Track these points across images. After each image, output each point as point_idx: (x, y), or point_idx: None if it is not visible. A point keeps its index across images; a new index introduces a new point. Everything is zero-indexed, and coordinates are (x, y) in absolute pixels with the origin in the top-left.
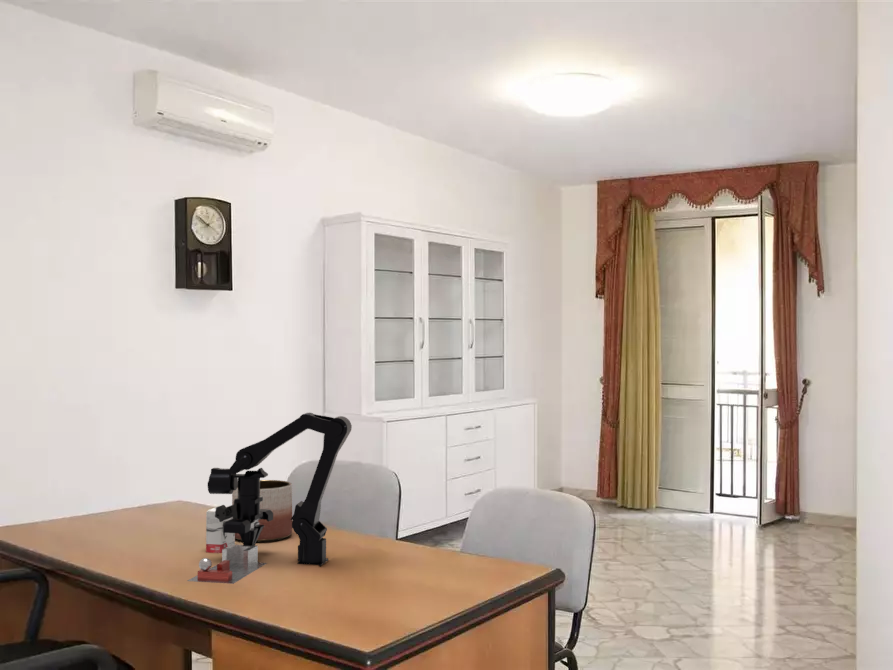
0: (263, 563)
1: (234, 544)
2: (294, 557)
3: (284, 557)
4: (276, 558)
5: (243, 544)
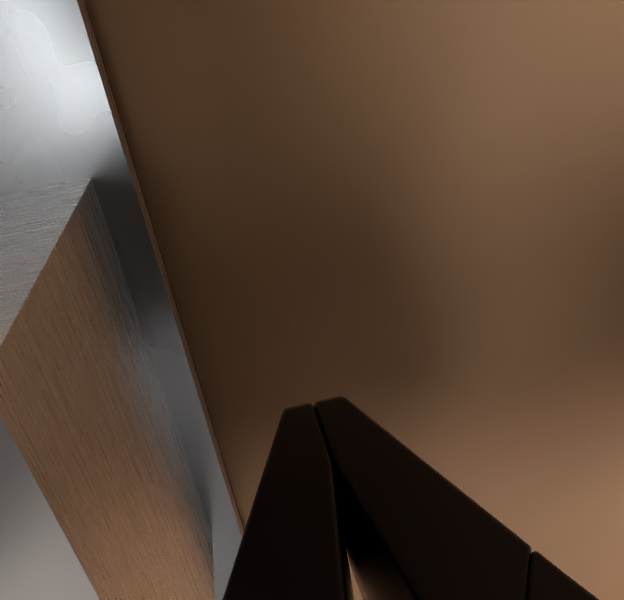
0: (218, 590)
1: (7, 446)
2: (611, 583)
3: (604, 523)
4: (553, 490)
5: (232, 570)
